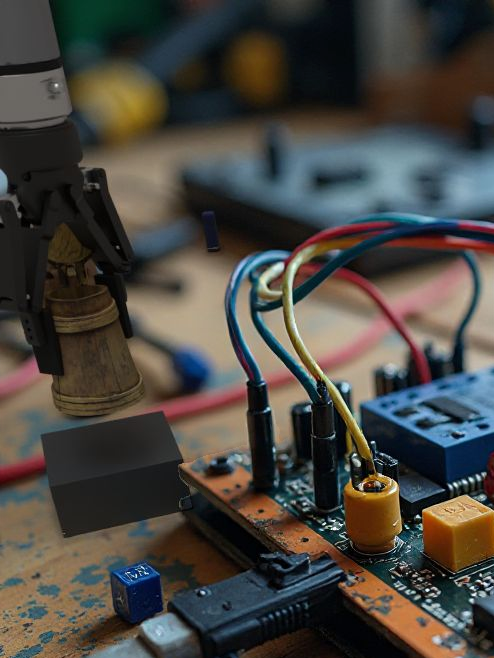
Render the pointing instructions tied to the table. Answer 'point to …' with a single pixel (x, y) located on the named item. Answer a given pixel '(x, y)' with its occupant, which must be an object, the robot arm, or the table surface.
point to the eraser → (210, 230)
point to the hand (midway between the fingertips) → (88, 354)
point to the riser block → (113, 472)
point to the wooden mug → (88, 337)
